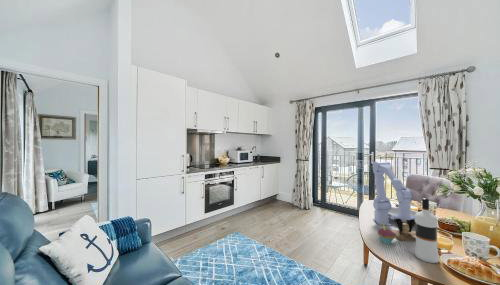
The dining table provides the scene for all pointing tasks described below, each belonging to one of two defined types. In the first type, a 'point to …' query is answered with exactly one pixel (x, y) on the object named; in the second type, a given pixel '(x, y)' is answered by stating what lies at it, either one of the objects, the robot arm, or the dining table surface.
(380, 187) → the robot arm
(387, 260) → the dining table surface
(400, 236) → the seat board
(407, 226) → the peg
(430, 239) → the vodka
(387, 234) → the cupcake
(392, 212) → the soup bowl
